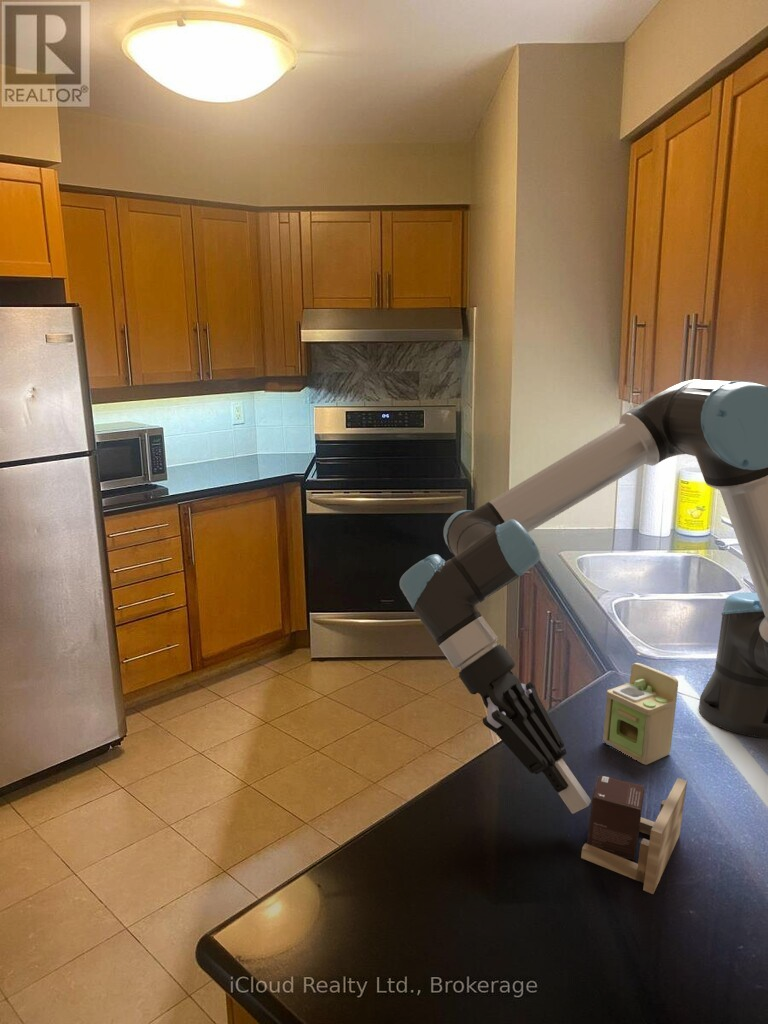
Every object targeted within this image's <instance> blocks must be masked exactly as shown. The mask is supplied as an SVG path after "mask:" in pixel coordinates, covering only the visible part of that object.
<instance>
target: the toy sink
mask: <svg viewBox="0 0 768 1024" xmlns="http://www.w3.org/2000/svg"><path fill="white" fill-rule="evenodd" d="M629 677H630V678H629V682H626V683H624V684H622V685H618V686H617V687H616V686H615V687H612V688H610V689H607V690H606V705H605V715H604V726H603V737H602V741H603V740H604V741H606V742H607V743H609V744H611V745H612V746H613V747H615V748H616V749H618V750H619V751H621V752H622V753H621V752H620V753H621V754H623V753H624V754H623V755H625V754H626V755H625V756H627V755H628V756H627V757H629V756H630V757H629V758H631V757H632V758H631V759H633V760H635V761H636V760H637V761H636V762H639V763H640V764H642V765H644V766H646V765H649V764H652V763H654V762H657V761H658V760H660V759H663V758H664V757H666V756H667V757H668V756H669V755H670V754H671V749H672V742H673V741H672V740H673V733H674V732H673V731H674V723H675V716H676V708H677V699H678V689H679V688H678V687H679V680H678V678H676V677H675V676H673V675H670V674H669V673H665V672H663V671H661V670H658V669H656V668H653V667H651V666H648V665H646V664H643V663H640V662H634V663H632V664H631V668H630V675H629ZM619 751H618V752H619Z"/></svg>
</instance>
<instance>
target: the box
mask: <svg viewBox="0 0 768 1024" xmlns="http://www.w3.org/2000/svg"><path fill="white" fill-rule="evenodd" d="M593 790H594V791H593V793H592V798H591V801H592V802H591V806H590V807H591V808H590V815H589V823H588V832H587V842H586V844H589V845H591V846H594V847H596V848H599V849H601V850H604V851H607V852H609V853H612V854H614V855H617V856H619V857H622V858H624V859H627V860H633V861H634V860H635V859H636V854H637V849H638V842H639V836H640V834H639V833H640V832H639V827H640V820H641V817H642V810H643V802H644V797H645V785H641V784H637V783H633V782H629V781H624V780H621V779H617V778H613V777H609V776H605V775H598V776H597V779H596V783H595V785H594V789H593Z"/></svg>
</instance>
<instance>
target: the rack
mask: <svg viewBox="0 0 768 1024" xmlns="http://www.w3.org/2000/svg"><path fill="white" fill-rule="evenodd" d="M687 785H688V780H685V779H683V778H680V777H677V778H676V780H675V782H674V784H673V786H672V788H671V790H670V792H669V794H668V796H667V798H666V800H665V799H663V800H662V801H661V804H660V810H659V814H658V815H657V818H656V819H655V821H652V820H650V819H648V818H644V817H642V816H641V820H640V827H639V833H642V834H645V835H648V836H649V839H647V838H642V840H641V842H640V843H639V844H640V845H639V852H638V861H637V862H635V861H631V859H628V858H624V857H621V856H618V855H614V854H612V853H609V852H607V851H604V850H601V849H599V848H596V847H594V846H591V845H589V844H587V842H585V843H584V844H583V846H582V848H581V852H580V853H581V855H580V858H581V859H583V860H586V861H588V862H590V863H593V864H595V865H597V866H600V867H603V868H605V869H606V870H610V871H613V872H615V873H618V874H620V875H623V876H625V877H628V878H630V879H632V880H635V881H637V882H640V883H642V884H643V886H642V887H643V889H642V890H643V891H645V892H646V893H649V894H652V895H654V894H655V891H656V890H657V887H658V884H659V883H660V881H661V877H662V876H663V873H664V871H665V869H666V867H667V865H668V863H669V860H670V858H671V855H672V853H673V851H674V849H675V847H676V844H677V842H678V840H679V838H680V835H681V828H682V821H683V813H684V807H685V799H686V792H687Z"/></svg>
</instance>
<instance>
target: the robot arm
mask: <svg viewBox="0 0 768 1024" xmlns="http://www.w3.org/2000/svg"><path fill="white" fill-rule="evenodd" d="M681 455H688V456H693V457H695V458H696V461H697V464H698V466H699V469H700V472H701V474H702V477H703V480H704V482H705V484H706V485H707V486H708V487H710V488H713V489H716V490H718V491H719V492H720V495H721V498H722V500H723V501H722V502H723V503H724V506H725V509H726V512H727V514H728V517H729V519H730V522H731V526H732V528H733V532H734V533H735V536H736V539H737V542H738V545H739V547H740V550H741V553H742V557H743V559H744V562H745V565H746V568H747V570H748V572H749V575H750V579H751V581H752V584H753V587H754V589H755V592H734V593H732V594H730V595H728V596H727V597H726V599H725V602H724V606H723V609H722V612H721V623H720V630H719V636H718V637H719V639H718V645H717V652H716V660H715V665H714V671H713V672H712V675H711V676H710V678H709V680H708V682H707V683H706V685H705V687H704V689H703V690H702V692H701V694H700V696H699V703H698V711H699V713H700V715H701V716H702V717H703V718H705V720H707V721H709V723H712V724H714V725H715V726H718V727H719V728H720V729H721V728H722V729H724V730H726V731H730V732H732V733H736V734H740V735H744V736H750V737H754V738H765V739H766V738H768V386H767V385H764V384H760V383H756V382H753V381H748V380H747V381H746V380H731V381H728V380H713V379H712V380H711V379H690V380H686V381H682V382H680V383H677V384H675V385H673V386H671V387H668V388H667V389H665V390H662V391H661V392H659V393H657V394H655V395H654V396H651V398H648V399H647V400H645V401H644V402H641V403H640V404H637V406H635V407H633V408H631V409H630V410H629V411H626V412H625V413H623V414H622V415H621V416H620V420H619V424H616V425H615V426H614V427H612V428H610V429H609V430H607V431H605V432H604V433H602V434H600V435H599V436H597V437H595V438H594V439H592V440H590V441H588V442H587V443H585V444H584V445H582V446H581V447H578V448H577V449H575V450H573V451H572V452H570V453H569V454H568V453H567V455H565V456H564V457H561V458H560V459H558V460H557V461H554V463H552V464H550V465H549V466H547V467H545V468H544V469H542V470H540V471H538V472H537V473H535V474H533V475H532V476H529V477H528V478H526V479H525V480H523V481H521V482H520V483H518V484H516V485H515V486H512V487H511V488H509V489H508V490H507V491H504V492H503V493H502V494H500V495H498V496H497V497H495V498H493V499H491V500H490V501H487V502H486V503H484V504H481V505H480V506H479V507H477V508H476V509H473V510H470V509H464V510H463V509H462V510H459V511H456V512H454V513H453V514H451V515H450V517H448V519H447V520H446V522H445V524H444V526H443V539H444V542H445V545H446V546H447V548H448V549H449V551H450V553H451V554H453V557H451V558H450V559H448V560H446V559H444V558H442V557H441V555H439V554H436V553H435V554H430V555H428V556H426V557H425V558H424V559H421V560H420V561H418V562H416V563H415V564H414V565H412V566H411V567H410V568H408V569H407V570H406V571H405V572H404V573H403V574H402V575H401V577H400V579H399V588H400V590H401V592H402V594H403V595H404V597H405V598H406V600H407V601H408V604H409V605H410V607H411V609H412V611H414V613H415V614H416V616H417V617H418V618H419V620H420V622H421V623H422V624H423V625H424V627H425V629H426V630H427V631H428V633H429V634H430V636H431V637H432V639H433V640H434V642H435V643H436V644H437V646H438V647H439V648H440V650H441V652H442V653H443V655H444V656H445V657H446V659H447V660H448V662H449V663H450V665H451V667H452V668H453V669H459V670H460V671H459V672H458V678H459V679H460V681H461V682H462V683H463V685H464V686H465V688H466V689H467V690H468V692H469V694H471V695H477V694H478V695H480V697H481V699H482V702H483V706H484V707H485V708H486V709H487V716H485V717H483V718H482V723H483V725H484V726H485V727H486V728H488V729H489V730H491V731H492V732H493V733H495V734H496V735H497V737H498V738H499V740H501V741H502V742H503V743H504V744H505V746H506V747H507V748H508V749H509V750H510V751H511V752H512V754H513V755H515V757H516V758H517V759H518V761H519V762H521V764H522V765H523V766H524V767H525V768H526V770H528V772H530V774H534V775H538V774H539V775H540V773H543V775H544V776H545V778H546V779H547V780H548V781H549V783H550V785H551V786H552V787H553V789H554V790H555V792H556V793H557V794H558V796H560V798H561V800H562V801H563V802H564V804H565V805H566V807H567V808H568V810H569V811H570V813H571V814H572V815H574V814H576V813H578V812H579V811H582V810H583V809H586V808H588V807H589V806H590V804H592V798H590V796H589V795H588V793H587V791H585V789H584V788H583V787H582V785H581V783H580V782H579V781H578V779H577V778H576V776H575V775H574V773H573V771H572V770H571V769H570V767H569V765H567V763H566V762H565V760H564V759H563V757H564V756H565V755H567V749H566V748H565V747H564V746H565V744H564V741H563V739H562V737H561V736H560V734H559V732H558V730H557V729H556V727H555V724H554V723H553V721H552V719H551V717H550V715H549V714H548V712H547V710H546V708H545V706H544V704H543V702H542V701H541V699H540V697H539V694H538V691H537V687H536V685H535V684H534V682H532V681H529V682H528V683H522V682H521V680H520V678H519V677H518V676H516V675H515V674H514V673H513V672H512V670H513V669H514V668H515V667H516V662H515V660H514V659H513V657H511V655H510V654H509V652H508V651H507V649H506V647H504V645H503V644H502V645H501V644H498V643H497V641H498V639H499V637H498V636H497V634H496V633H495V632H494V631H493V629H492V628H491V626H490V625H489V624H488V621H486V619H485V618H484V617H483V615H482V613H481V612H480V611H479V610H478V607H477V605H479V604H480V603H482V602H484V601H486V599H488V598H490V597H491V596H492V595H494V594H495V593H496V592H498V591H499V590H501V589H502V588H504V587H506V586H508V585H509V584H510V583H512V582H513V581H515V580H516V579H518V578H520V577H521V576H524V575H525V573H527V572H528V571H529V570H530V569H531V568H532V567H534V566H535V565H536V564H537V563H538V562H540V558H541V554H540V550H539V548H538V546H537V544H536V542H535V540H534V539H533V538H532V537H531V535H530V534H529V533H530V532H532V531H533V530H535V529H537V528H538V527H540V526H541V525H543V524H545V523H547V522H549V521H551V520H553V518H555V517H557V516H559V515H561V514H562V513H564V512H566V511H568V510H569V509H571V508H572V507H574V506H575V505H578V504H579V503H581V502H583V501H584V500H586V499H587V498H589V497H591V496H592V495H594V494H596V493H598V492H600V491H601V490H603V489H605V488H606V487H608V486H610V485H611V484H613V483H614V482H616V481H618V480H619V479H621V478H622V477H624V476H626V475H628V474H630V473H632V472H633V471H635V470H637V469H638V468H640V467H642V466H644V465H649V466H656V465H658V464H659V463H661V462H663V461H664V460H666V459H669V458H671V457H675V456H681Z"/></svg>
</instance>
